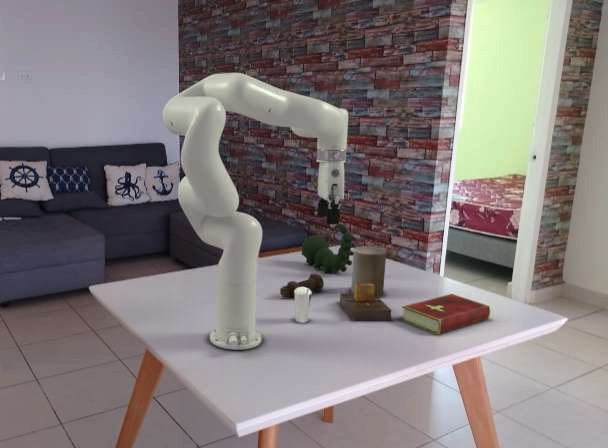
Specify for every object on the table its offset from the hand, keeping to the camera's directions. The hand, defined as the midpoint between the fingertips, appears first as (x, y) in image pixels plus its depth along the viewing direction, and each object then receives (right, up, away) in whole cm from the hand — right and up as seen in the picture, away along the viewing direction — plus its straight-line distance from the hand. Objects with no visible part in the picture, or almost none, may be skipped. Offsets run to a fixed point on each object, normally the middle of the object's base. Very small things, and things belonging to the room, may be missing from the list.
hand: (327, 220), depth 151 cm
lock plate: (+12, -26, +7) cm, 29 cm away
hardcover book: (+32, -27, +1) cm, 42 cm away
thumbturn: (+12, -22, +7) cm, 26 cm away
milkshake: (-7, -27, -1) cm, 28 cm away
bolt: (-4, -23, +21) cm, 31 cm away
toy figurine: (+9, -17, +48) cm, 52 cm away
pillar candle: (+17, -22, +23) cm, 36 cm away
